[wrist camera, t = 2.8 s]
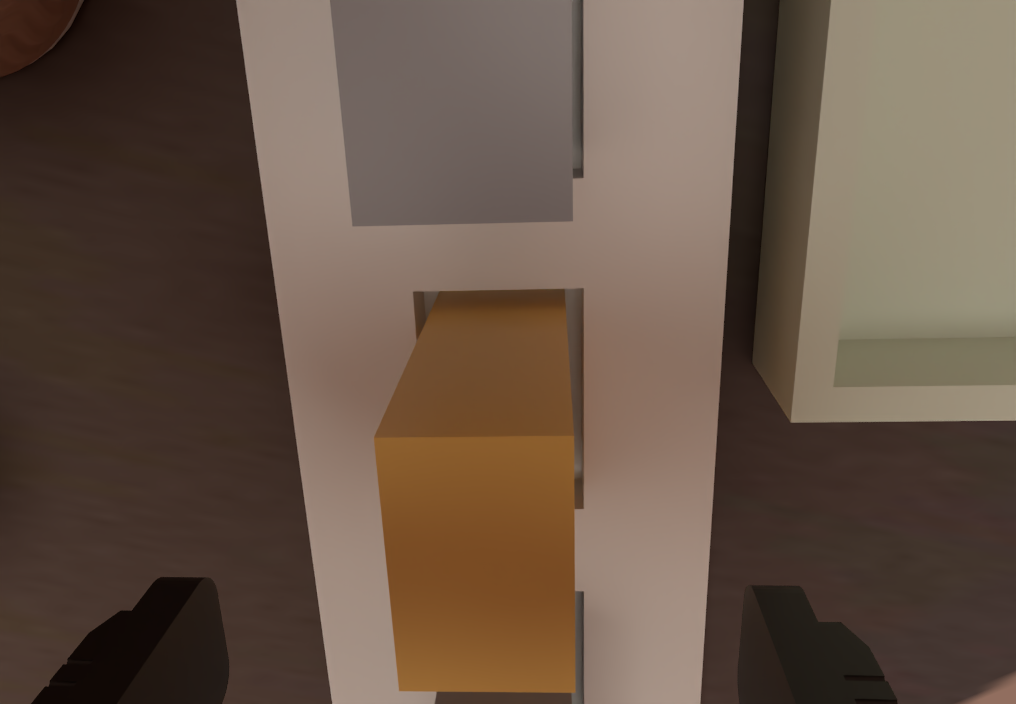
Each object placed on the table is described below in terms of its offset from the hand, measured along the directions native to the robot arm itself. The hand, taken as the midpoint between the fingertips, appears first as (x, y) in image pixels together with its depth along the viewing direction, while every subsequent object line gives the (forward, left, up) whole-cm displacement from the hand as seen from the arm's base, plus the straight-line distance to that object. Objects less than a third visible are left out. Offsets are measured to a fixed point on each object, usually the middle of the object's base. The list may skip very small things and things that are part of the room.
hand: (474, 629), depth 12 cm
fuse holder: (0, 0, -9) cm, 9 cm away
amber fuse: (0, 0, -9) cm, 9 cm away
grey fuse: (-8, 0, -9) cm, 12 cm away
